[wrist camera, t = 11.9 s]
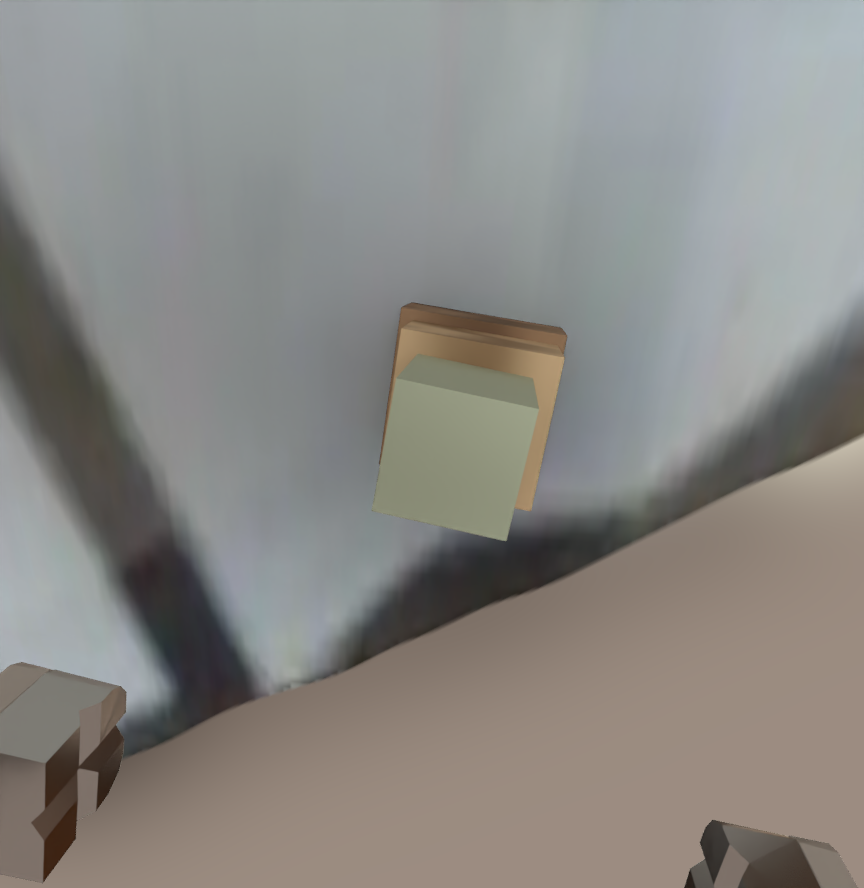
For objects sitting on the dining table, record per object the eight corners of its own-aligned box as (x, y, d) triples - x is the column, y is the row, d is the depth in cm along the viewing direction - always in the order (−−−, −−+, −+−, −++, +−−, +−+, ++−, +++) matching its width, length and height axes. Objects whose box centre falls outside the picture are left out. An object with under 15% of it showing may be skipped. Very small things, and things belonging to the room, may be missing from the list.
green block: (396, 462, 31) (371, 510, 25) (417, 353, 29) (396, 378, 24) (506, 486, 30) (506, 541, 25) (532, 377, 29) (539, 409, 23)
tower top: (392, 456, 35) (378, 481, 31) (413, 319, 33) (401, 328, 29) (528, 482, 34) (530, 511, 31) (557, 345, 33) (565, 357, 29)
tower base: (391, 443, 39) (379, 464, 35) (412, 301, 37) (401, 307, 33) (531, 469, 38) (533, 492, 35) (560, 326, 36) (567, 335, 32)
